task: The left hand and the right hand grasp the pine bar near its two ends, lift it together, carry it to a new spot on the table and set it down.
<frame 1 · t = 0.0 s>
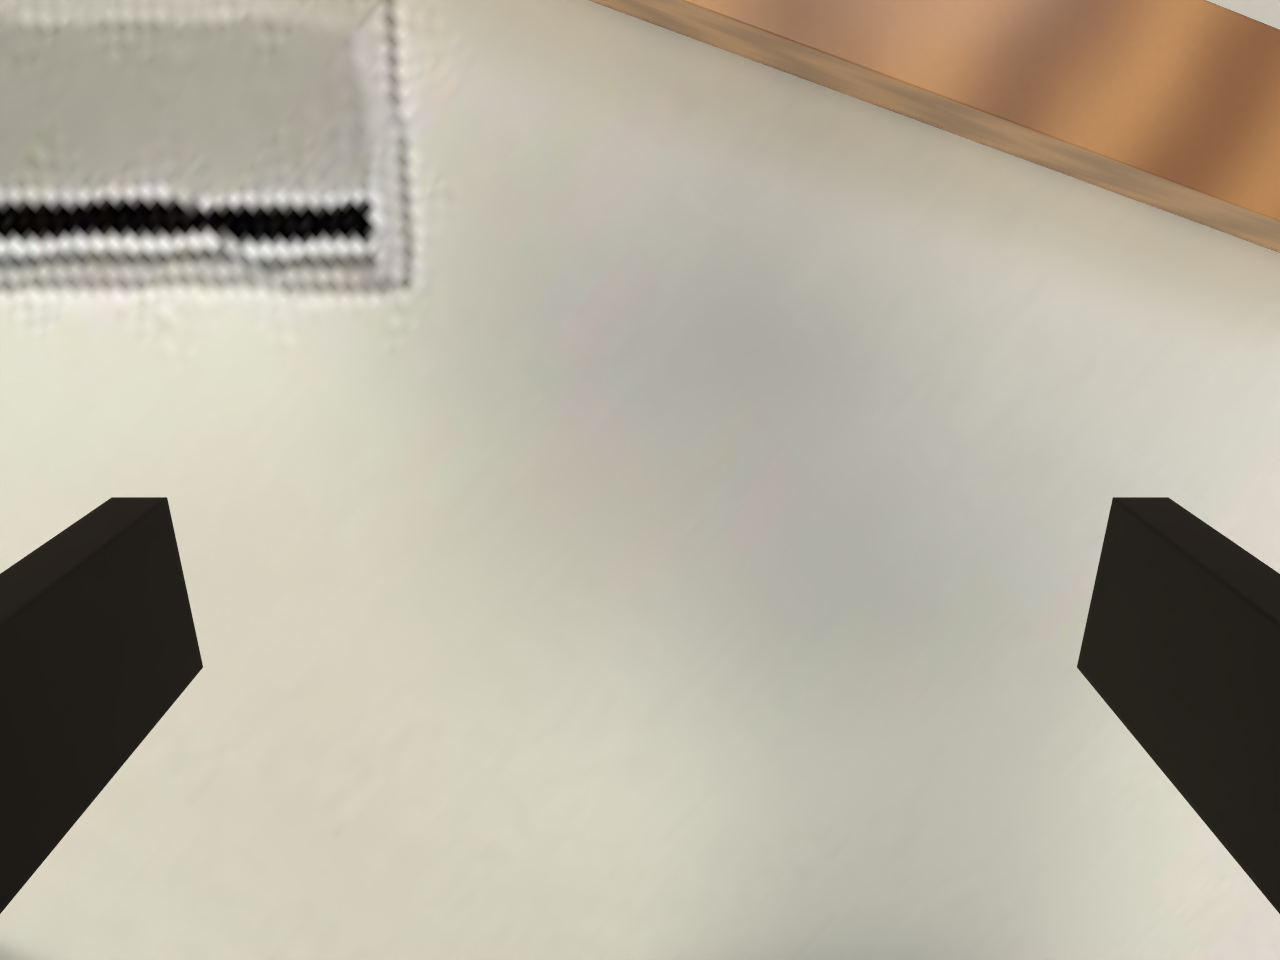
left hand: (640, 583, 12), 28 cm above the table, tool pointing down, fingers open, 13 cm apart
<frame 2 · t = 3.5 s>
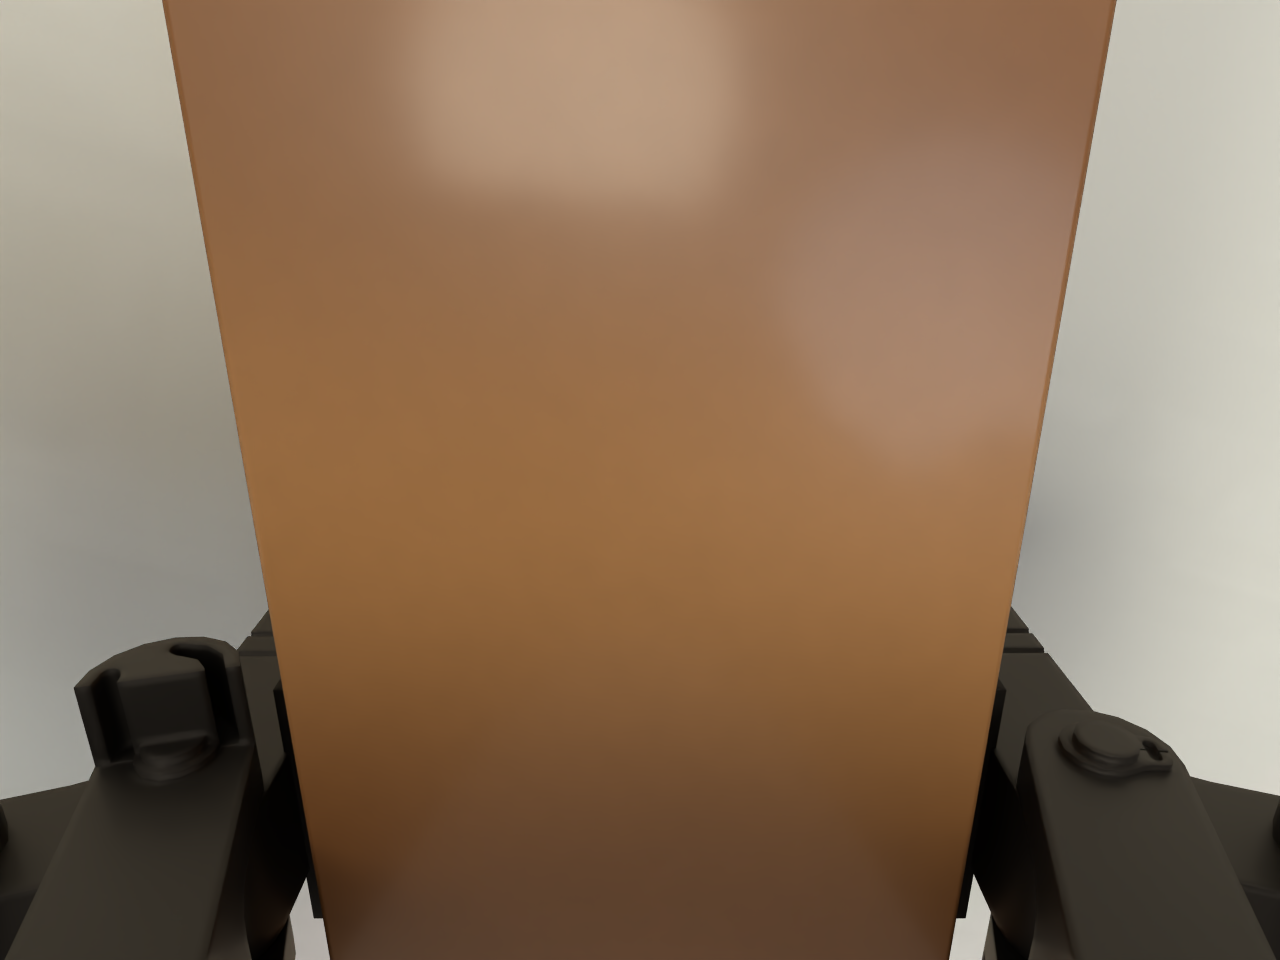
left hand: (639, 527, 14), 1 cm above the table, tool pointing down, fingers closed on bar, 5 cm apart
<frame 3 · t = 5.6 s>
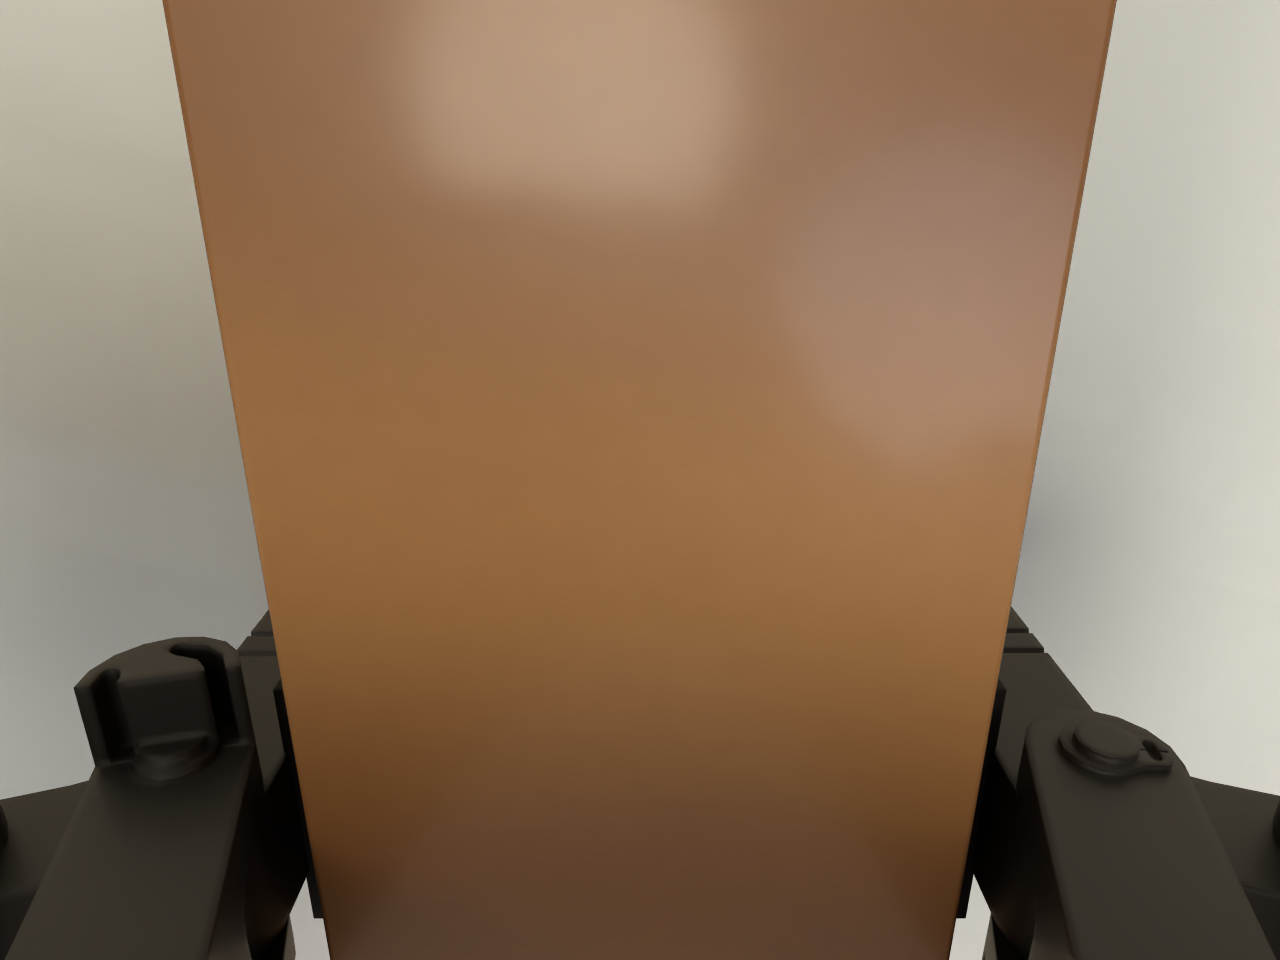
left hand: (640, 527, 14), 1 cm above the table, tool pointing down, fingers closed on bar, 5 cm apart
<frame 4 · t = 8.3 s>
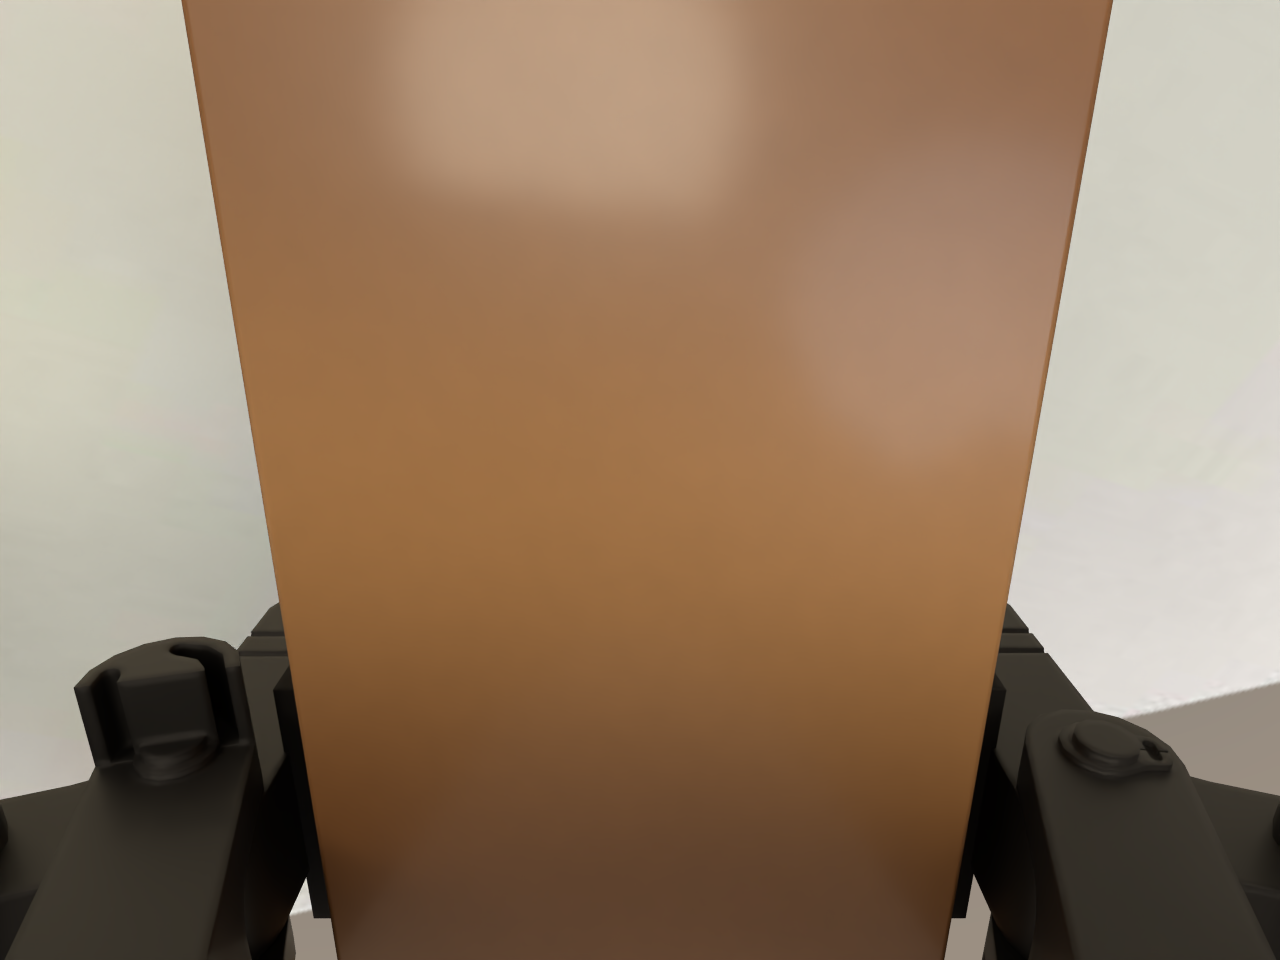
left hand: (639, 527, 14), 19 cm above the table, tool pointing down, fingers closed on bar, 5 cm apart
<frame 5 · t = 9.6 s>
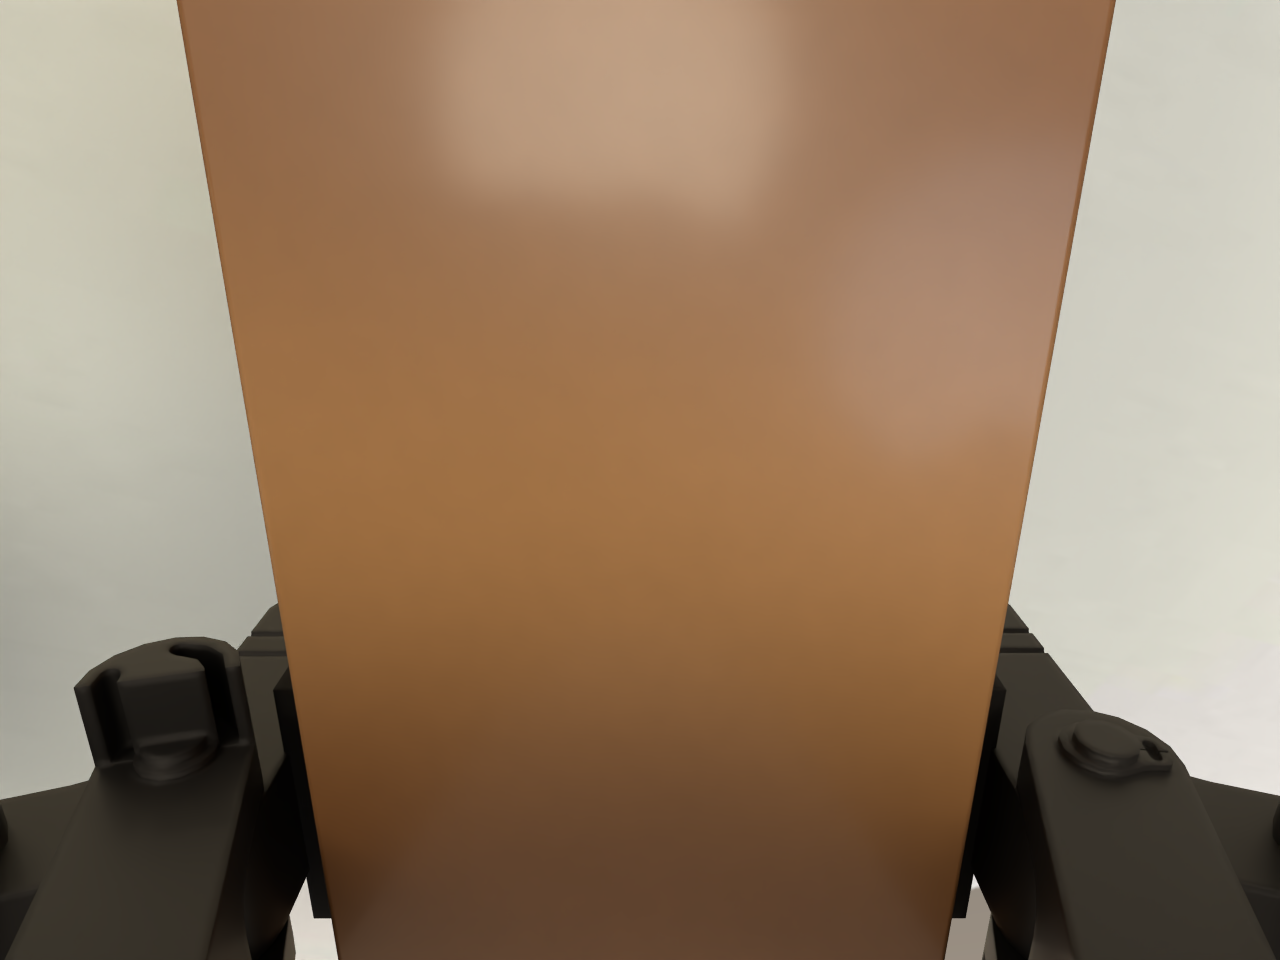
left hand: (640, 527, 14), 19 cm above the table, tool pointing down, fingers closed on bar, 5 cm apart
when the left hand's fingers open (2 cm above the table, at t = 13.5 s): bar drops 1 cm, on the table.
when the right hand's fingers open (4 cm above the table, at t = 13.7 s): bar stays where it is, on the table.
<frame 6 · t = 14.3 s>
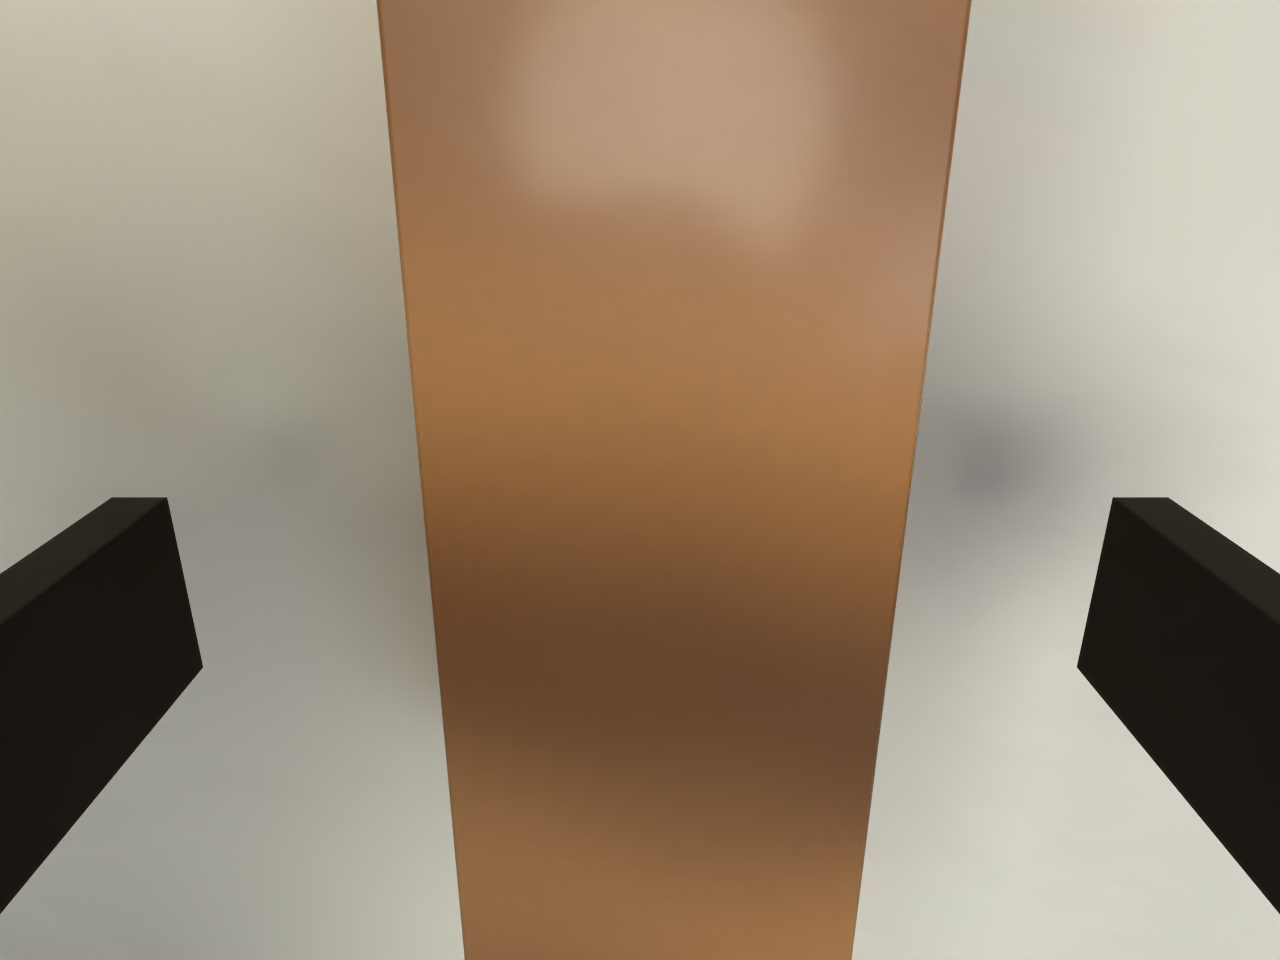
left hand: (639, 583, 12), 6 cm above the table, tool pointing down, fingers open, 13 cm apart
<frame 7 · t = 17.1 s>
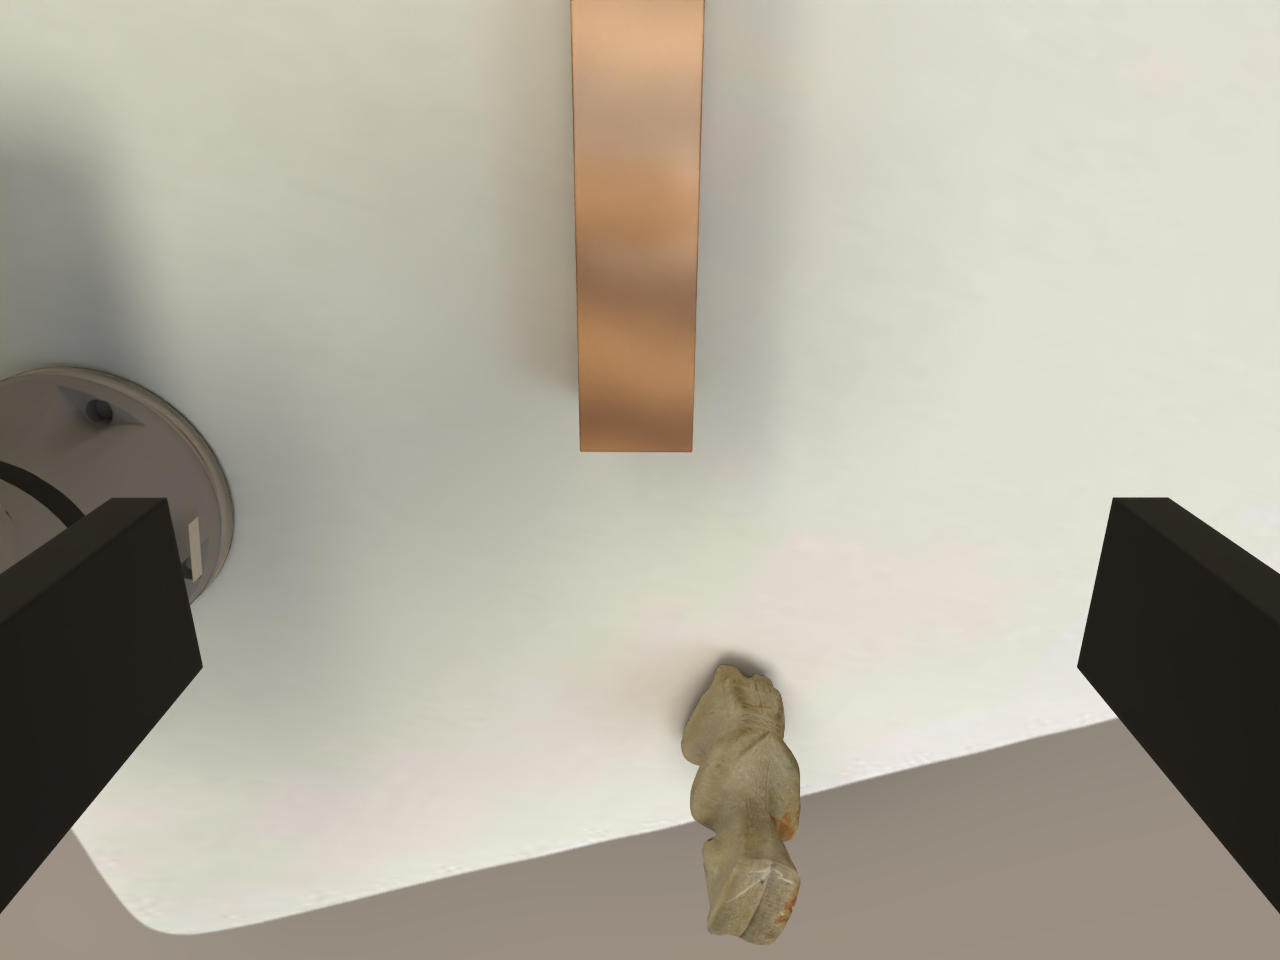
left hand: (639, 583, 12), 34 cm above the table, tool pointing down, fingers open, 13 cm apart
sculpture: (728, 701, 54), on the table
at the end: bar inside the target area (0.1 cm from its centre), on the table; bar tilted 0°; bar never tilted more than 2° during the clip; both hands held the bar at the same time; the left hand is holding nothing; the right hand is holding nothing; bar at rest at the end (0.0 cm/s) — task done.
